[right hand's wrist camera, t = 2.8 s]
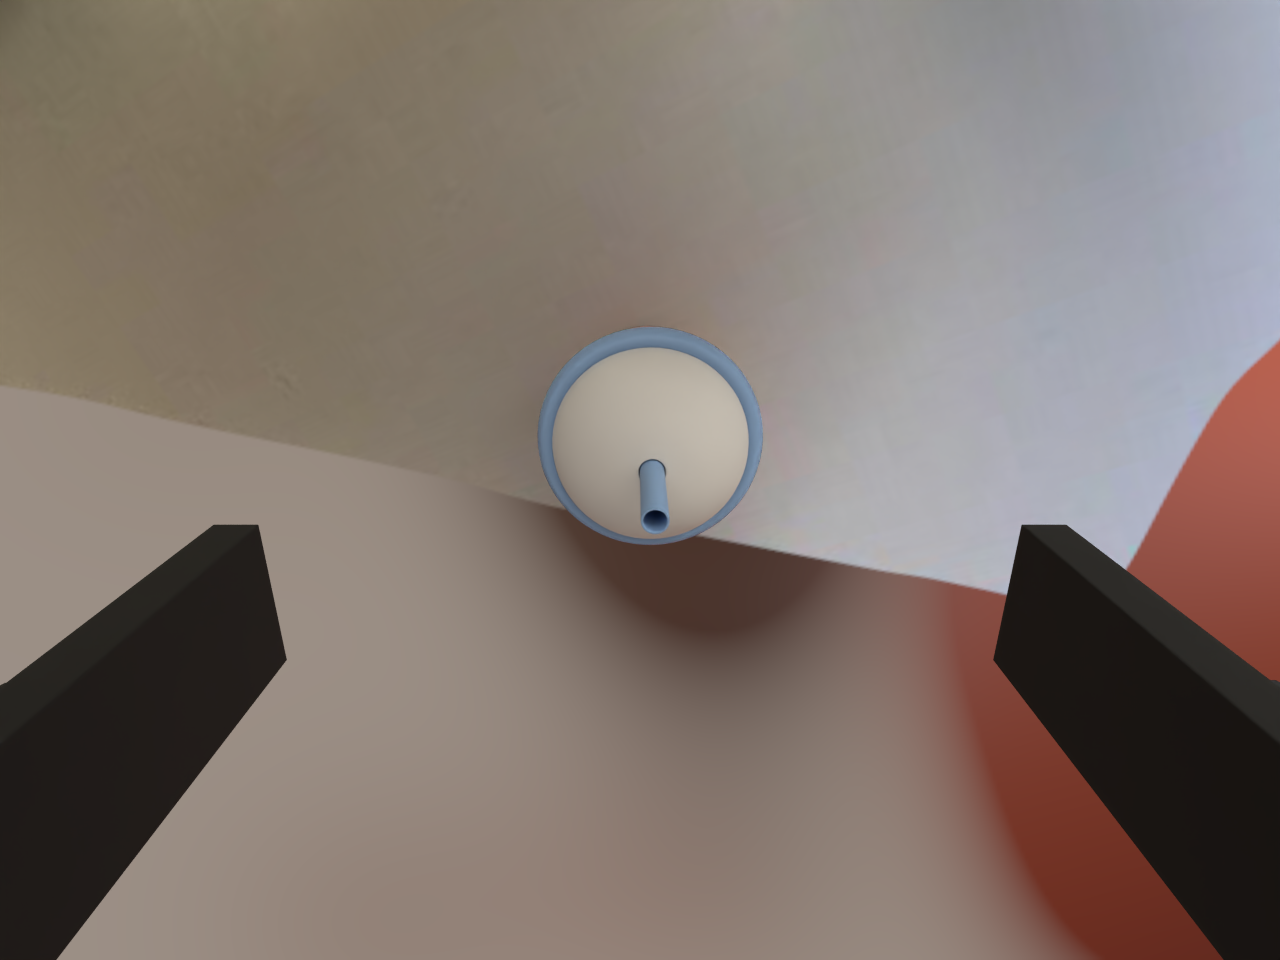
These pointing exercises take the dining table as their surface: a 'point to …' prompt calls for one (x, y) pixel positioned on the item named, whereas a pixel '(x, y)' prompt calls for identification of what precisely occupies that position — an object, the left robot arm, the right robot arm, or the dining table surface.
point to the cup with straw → (650, 435)
